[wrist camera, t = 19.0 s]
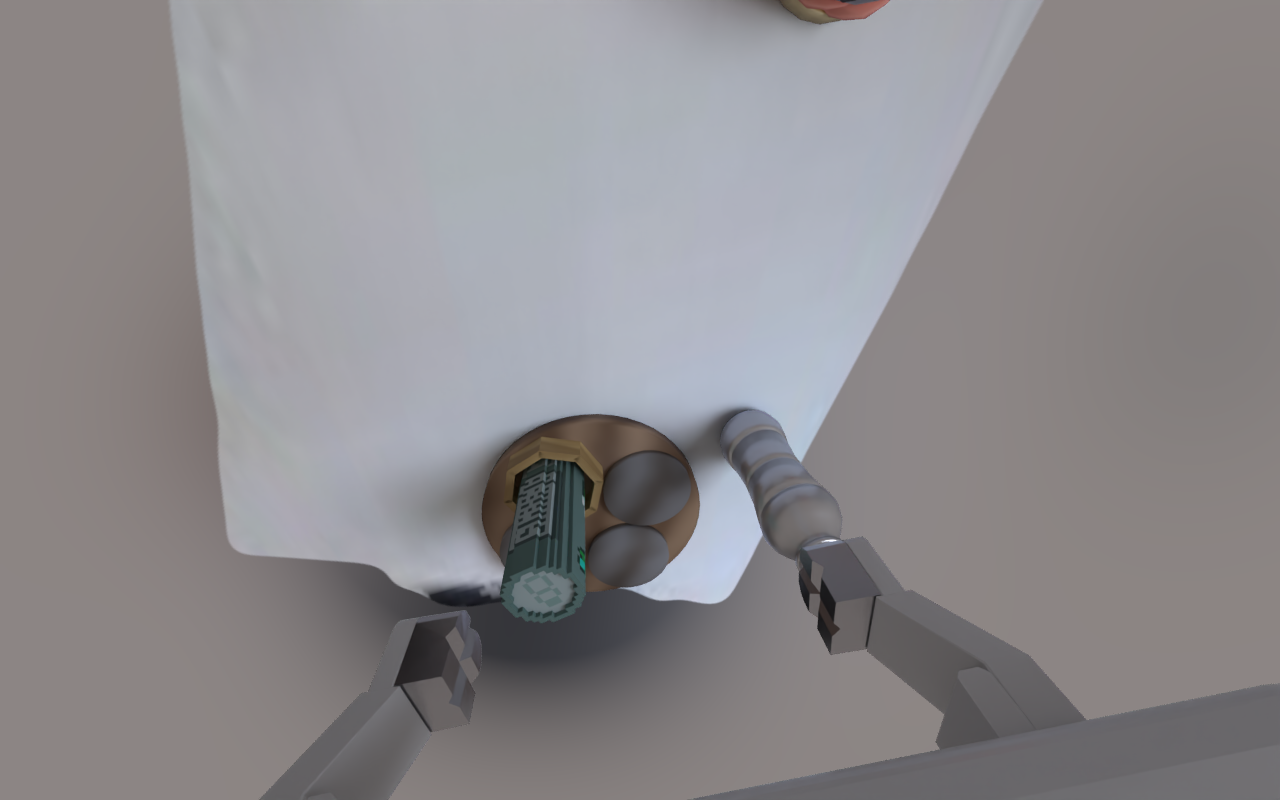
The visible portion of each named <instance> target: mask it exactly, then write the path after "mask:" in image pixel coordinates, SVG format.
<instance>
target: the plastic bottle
mask: <svg viewBox="0 0 1280 800" xmlns="http://www.w3.org/2000/svg"><path fill="white" fill-rule="evenodd" d="M720 443H721V448H722V453H723V456H724V458H725V459H726V460H727V462H728V463H729V464H730V466H731V467H732V468H733V469H734V470H735V471H736V472H737V473H738V475H739V476H740V478H741V479H742V481H743V482H744V484H745V485H746V487H747V489H748V492H749V494H750V497H751V499H752V501H753V504H754V507H755V510H756V514H757V517H758V521H759V524H760V528H761V530H762V533H763V536H764V538H765V540H766V542H767V543H768V544H769V545H770V546H771V547H772V548H773V549H774V550H775V551H776V552H778V553H779V554H781V555H783V556H785V557H787V558H789V559H792V560H794V561H795V563H796V566H797V568H798V570H799V571H800V570H801V569H802V567H803V565H802V563H801V561H800V559H799V557H800V550H801V548H803V547H808V546H813V545H818V544H823V543H828V542H834V541H839V540H840V541H842V540H841V539H840V535H841V529H842V515H841V511H840V508H839V504H838V502H837V501H836V499H835V498H834V497H833V496H832V495H831V494H830V492H828V491H827V490H826V489H825V488H824V487H823V486H822V485H821V484H820V483H819V482H818V481H816V479H814V478H813V477H812V476H811V475H810V474H809V473H808V471H807V470H806V469H805V468H804V466H803V465H802V464H801V463H800V462H799V461H798V459H797V458H796V457H795V455H794V453H793V451H792V449H791V448H790V446H789V444H788V442H787V439H786V436H785V433H784V431H783V429H782V427H781V425H780V424H779V422H778V421H777V420H776V419H774V418H773V417H772V416H771V415H769V414H768V413H766V412H763V411H760V410H749V411H744V412H741V413H739V414H737V415H735V416H734V417H732V418H731V419H730V420H729V421H728V422H727V424H726V425H725V426H724V428H723V430H722V433H721V437H720Z"/></svg>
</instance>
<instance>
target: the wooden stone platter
mask: <svg viewBox="0 0 1280 800" xmlns="http://www.w3.org/2000/svg"><path fill="white" fill-rule="evenodd" d="M541 458H545V459H554V460H563V461H572V462H576V463H577V464H578V465H579V466H580V467H581V468H582V470H583V471H584V477H585V579H586V592H594V591H605V590H610V589H616V588H620V587H634V586H639V585H642V584H645V583H647V582H649V581H651V580H653V579H655V578H656V577H657V576H658V575H659V574H661V573H662V571H663V570H664V569H665V567H666V565H667V564H669V563H670V562H671V561H672V560H673V559H674V558H675V557H676V556H677V555H678V554H679V553H680V552H681V551H682V550H683V548H684V547H685V546H686V544H687V543H688V541H689V540H690V538H691V536H692V534H693V532H694V530H695V527H696V524H697V520H698V517H699V508H700V501H699V492H698V488H697V484H696V481H695V478H694V475H693V472H692V470H691V468H690V465H689V463H688V461H687V460H686V458H685V456H684V455H683V453H682V452H681V451H680V450H679V449H678V447H677V446H676V445H675V444H674V443H673V442H672V441H670V440H669V439H668V438H667V437H666V436H665V435H663V434H661V433H660V432H658V431H657V430H655V429H654V428H651V427H649V426H647V425H645V424H643V423H640V422H637V421H634V420H631V419H628V418H623V417H618V416H613V415H600V414H593V415H579V416H572V417H566V418H563V419H559V420H555V421H552V422H549V423H547V424H544V425H542V426H539V427H537V428H536V429H534V430H532V431H530V432H528V433H527V434H525V435H524V436H522V437H521V438H520V439H518V440H517V441H516V442H514V443H513V444H512V445H511V446H510V447H509V448H508V449H507V450H506V451H505V452H504V453H503V455H502V456H501V457H500V459H499V460H498V461H497V463H496V465H495V467H494V468H493V470H492V472H491V475H490V478H489V480H488V483H487V487H486V490H485V494H484V498H483V504H482V521H483V526H484V530H485V533H486V536H487V538H488V541H489V542H490V544H491V546H492V548H493V549H494V551H495V552H496V553H497V555H498V556H499V557H500V559H501V561H502V563H503V565H504V566H505V564H506V559H507V553H508V548H509V543H510V537H511V532H512V526H513V521H514V516H515V510H516V505H517V499H518V494H519V489H520V483H521V478H522V473H523V470H524V469H525V468H527V467H528V466H530V465H532V464H533V463H535V462H536V461H538V460H540V459H541Z"/></svg>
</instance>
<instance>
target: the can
mask: <svg viewBox="0 0 1280 800" xmlns="http://www.w3.org/2000/svg"><path fill="white" fill-rule="evenodd" d="M500 596H501V597H502V602H501V603H502V604H503V605H504V606H505V607H506V608H507V609H508V610H509V611H510V612H511V613H512V614H513V615H514V616H515V617H516V618H518V617H520V616H521V617H523V619H524V620H525V621H526V622H527V621H530V620H532V621H533V622H537V621H539V622H540V623H544V622H546V621H548V620H551V621H552V622H555V621H557V620H560V619H562V618H564V617H566V616H569V615H571V614H573V613H575V609H576V608H578V607H580V606H582V602H583V601H584V597H585V596H586V579H585V477H584V471H583V470H582V468H581V467H580V466H579V465H578V464H577V463H576V462H572V461H563V460H554V459H545V458H541V459H540V460H538V461H536V462H535V463H533V464H532V465H530V466H528V467H527V468H525V469H524V470H523V473H522V478H521V483H520V489H519V494H518V499H517V505H516V510H515V516H514V521H513V526H512V532H511V537H510V543H509V548H508V553H507V559H506V564H505V570H504V575H503V580H502V586H501V591H500Z"/></svg>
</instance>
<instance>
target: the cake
mask: <svg viewBox="0 0 1280 800" xmlns="http://www.w3.org/2000/svg"><path fill="white" fill-rule="evenodd" d="M780 1H781V3H782V4H783V6H784V7H785V8H786V9H788V10H789V11H790V12H792V13H793V14H794V15H795V16H797V17H798V18H799V19H801V20H805V21H809V22H813V23H817V24H824V23H829V22H835V21H840V20H855V19H865V18H867V17H868V16H870V15H871V14H873V13H874V12H875V11H877V10H878V9H880V8H881V7H883V6H884V5H886V4H887V3H888V2H889V1H890V0H780Z"/></svg>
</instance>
